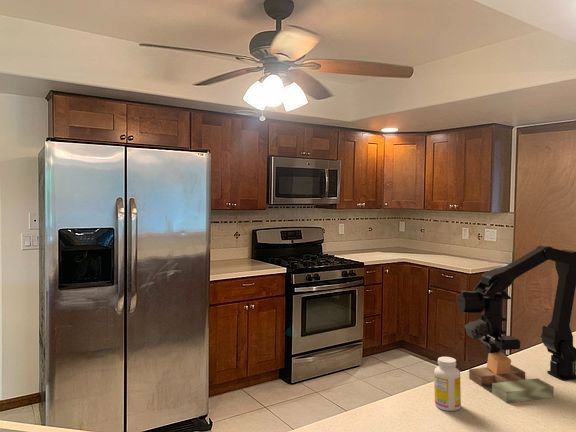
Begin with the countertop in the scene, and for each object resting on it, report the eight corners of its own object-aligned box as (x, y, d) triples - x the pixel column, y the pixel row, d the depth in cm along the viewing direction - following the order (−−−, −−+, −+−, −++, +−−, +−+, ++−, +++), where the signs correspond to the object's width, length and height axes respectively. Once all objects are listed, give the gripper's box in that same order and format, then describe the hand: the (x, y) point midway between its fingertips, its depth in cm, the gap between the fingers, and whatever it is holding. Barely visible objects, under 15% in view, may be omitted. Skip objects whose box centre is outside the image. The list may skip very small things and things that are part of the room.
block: (499, 365, 137) (501, 352, 136) (509, 373, 133) (511, 359, 132) (486, 366, 137) (488, 353, 136) (496, 374, 132) (498, 361, 131)
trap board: (511, 374, 140) (511, 364, 140) (553, 397, 123) (553, 386, 123) (469, 378, 137) (469, 369, 137) (506, 402, 120) (506, 392, 120)
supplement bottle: (456, 401, 122) (456, 355, 122) (464, 412, 115) (463, 364, 115) (432, 400, 123) (431, 354, 122) (437, 411, 116) (437, 363, 116)
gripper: (452, 305, 144) (451, 352, 145) (488, 323, 126) (486, 376, 127) (483, 304, 146) (482, 350, 147) (522, 321, 128) (520, 373, 129)
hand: (491, 361), depth 138 cm, fingers closed
